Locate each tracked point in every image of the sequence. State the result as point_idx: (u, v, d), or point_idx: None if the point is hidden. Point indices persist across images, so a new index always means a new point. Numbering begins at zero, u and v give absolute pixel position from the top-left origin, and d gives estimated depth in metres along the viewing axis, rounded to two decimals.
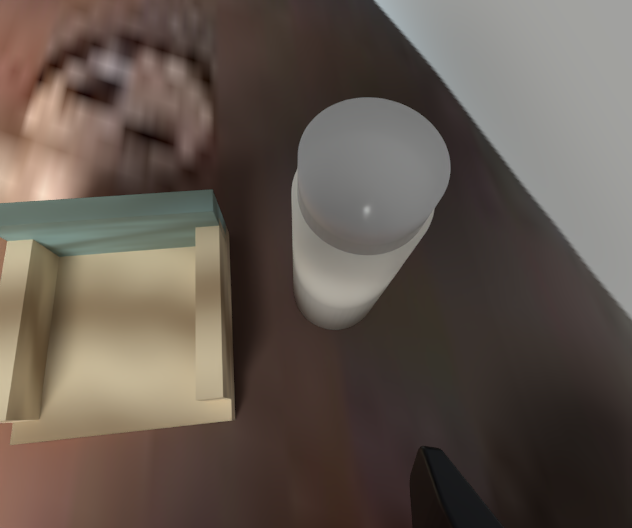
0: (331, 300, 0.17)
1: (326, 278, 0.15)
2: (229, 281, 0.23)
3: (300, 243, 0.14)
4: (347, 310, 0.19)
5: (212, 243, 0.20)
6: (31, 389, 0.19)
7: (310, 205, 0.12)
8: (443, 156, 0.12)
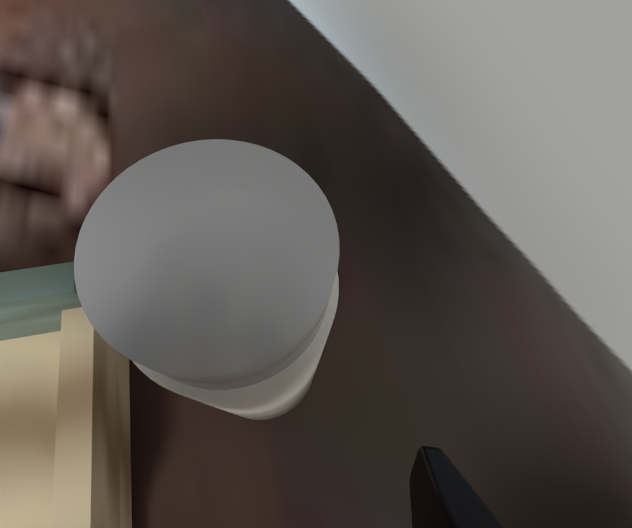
0: (230, 412, 0.12)
1: None
2: (125, 369, 0.18)
3: None
4: (261, 414, 0.14)
5: (84, 330, 0.15)
6: None
7: None
8: (327, 229, 0.07)
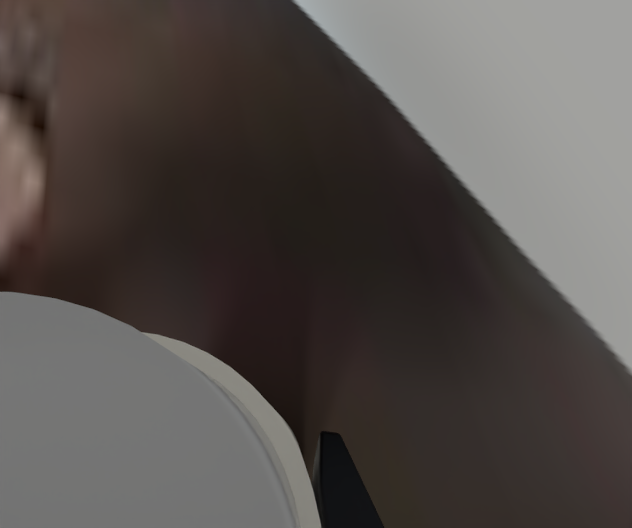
0: None
1: None
2: None
3: None
4: None
5: None
6: None
7: None
8: None
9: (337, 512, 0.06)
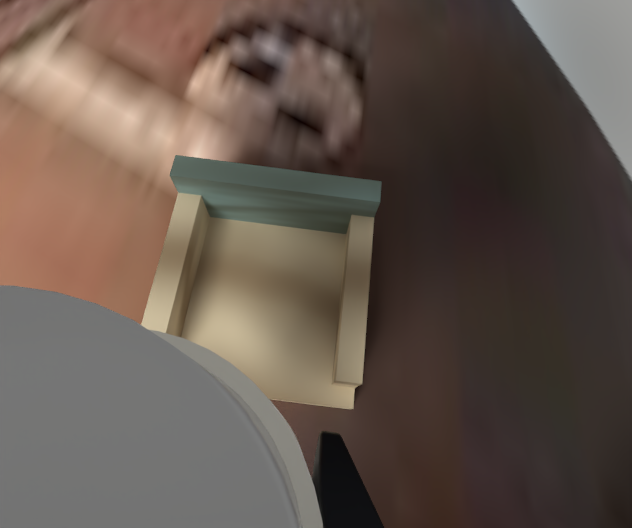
0: None
1: None
2: None
3: None
4: None
5: (366, 233, 0.21)
6: (175, 334, 0.20)
7: None
8: None
9: (337, 513, 0.06)
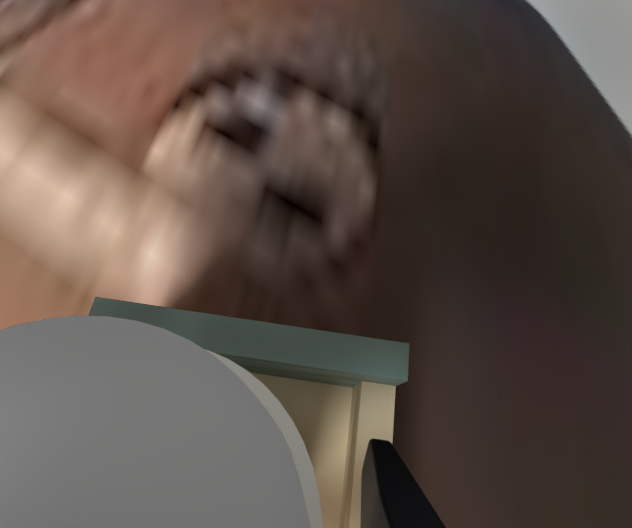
0: None
1: None
2: None
3: None
4: None
5: (383, 414, 0.14)
6: None
7: None
8: None
9: (404, 522, 0.06)
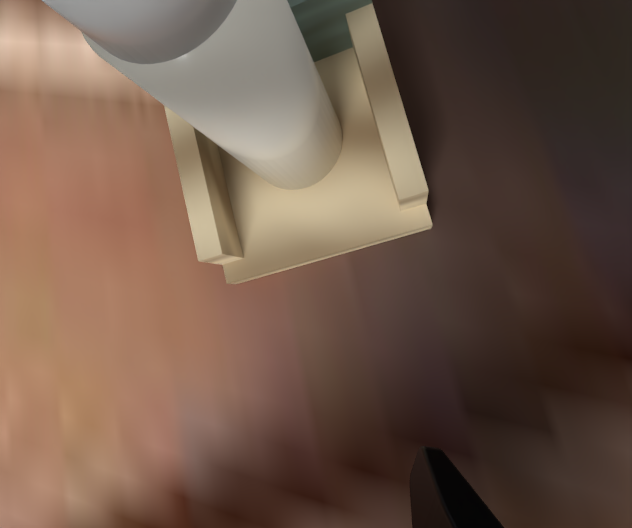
0: (259, 146, 0.14)
1: (214, 118, 0.12)
2: None
3: (149, 93, 0.11)
4: (292, 148, 0.15)
5: (370, 26, 0.17)
6: (230, 229, 0.19)
7: (70, 19, 0.08)
8: None
9: None
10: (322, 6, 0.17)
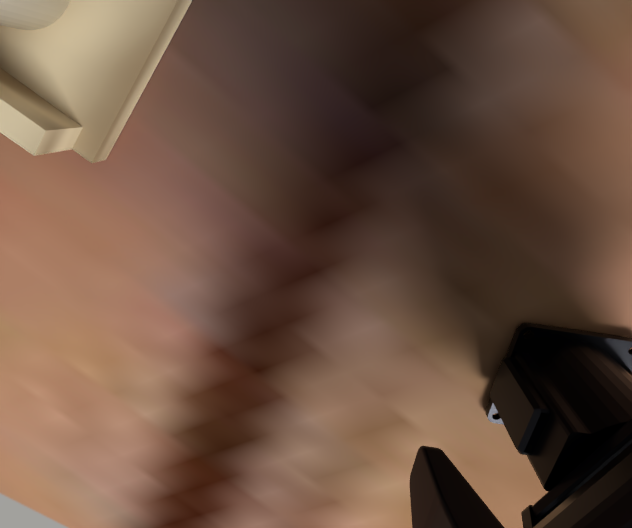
0: None
1: None
2: None
3: None
4: None
5: None
6: (40, 107, 0.17)
7: None
8: None
9: None
10: None
